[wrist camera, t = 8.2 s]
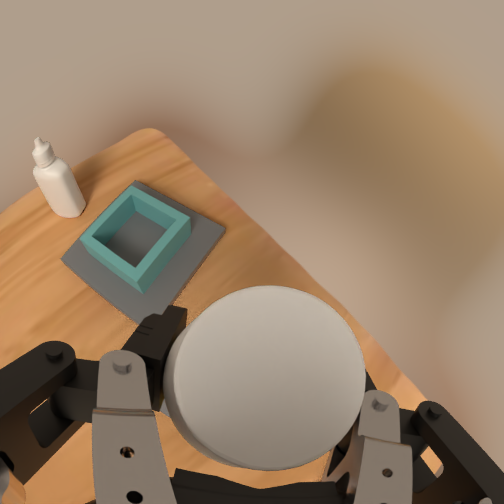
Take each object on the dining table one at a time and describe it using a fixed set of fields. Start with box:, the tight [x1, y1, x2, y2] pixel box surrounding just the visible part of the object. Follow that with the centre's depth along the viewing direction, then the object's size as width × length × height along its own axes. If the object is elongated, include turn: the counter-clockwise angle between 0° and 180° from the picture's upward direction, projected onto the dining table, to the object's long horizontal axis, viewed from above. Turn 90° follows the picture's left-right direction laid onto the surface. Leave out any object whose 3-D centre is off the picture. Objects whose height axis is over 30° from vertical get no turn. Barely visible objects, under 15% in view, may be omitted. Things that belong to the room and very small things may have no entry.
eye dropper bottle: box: [32, 137, 86, 218], centre depth 26 cm, size 4×6×12 cm
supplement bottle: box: [163, 285, 366, 471], centre depth 9 cm, size 5×5×10 cm
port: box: [61, 180, 226, 325], centre depth 28 cm, size 14×14×4 cm
